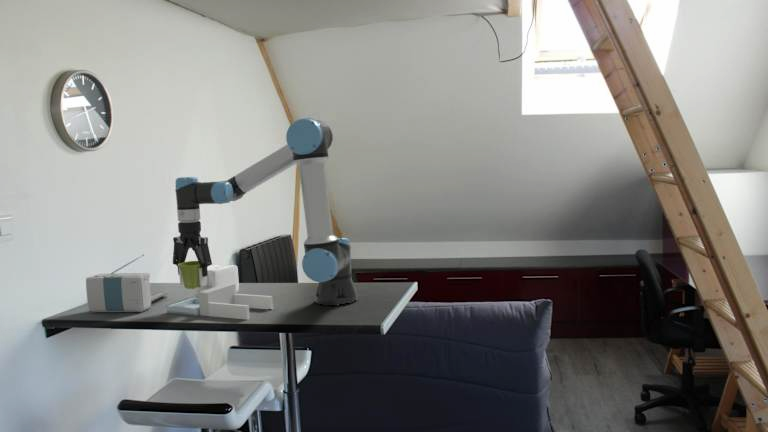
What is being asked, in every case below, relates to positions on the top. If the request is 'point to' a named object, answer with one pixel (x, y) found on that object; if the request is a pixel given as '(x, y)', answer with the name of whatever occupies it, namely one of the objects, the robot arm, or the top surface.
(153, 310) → the top surface
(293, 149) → the robot arm
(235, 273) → the cable organizer
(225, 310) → the bay
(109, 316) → the top surface
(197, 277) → the plant pot
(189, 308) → the tray
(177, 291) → the top surface
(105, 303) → the stereo radio cassette player
